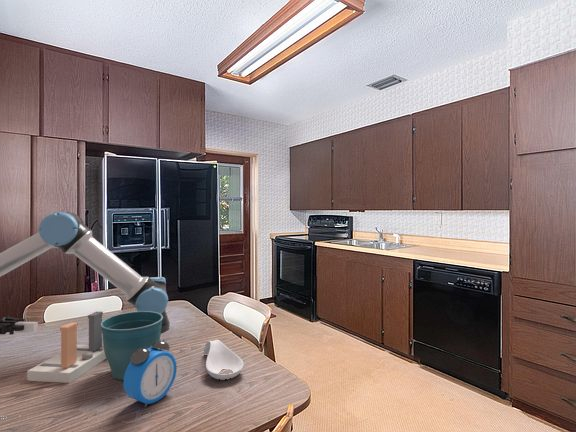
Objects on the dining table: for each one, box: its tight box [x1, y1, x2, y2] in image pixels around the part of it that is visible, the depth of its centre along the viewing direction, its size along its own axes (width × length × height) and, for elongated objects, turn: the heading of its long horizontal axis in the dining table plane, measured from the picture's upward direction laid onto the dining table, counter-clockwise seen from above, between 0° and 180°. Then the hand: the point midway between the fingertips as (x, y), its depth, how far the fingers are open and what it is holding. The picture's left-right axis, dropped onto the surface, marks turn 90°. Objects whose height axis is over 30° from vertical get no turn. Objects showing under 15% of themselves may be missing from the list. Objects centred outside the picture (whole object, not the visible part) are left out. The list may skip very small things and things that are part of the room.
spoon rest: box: [203, 339, 245, 381], centre depth 107 cm, size 24×12×7 cm, turn 30°
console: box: [26, 344, 107, 384], centre depth 108 cm, size 14×20×4 cm
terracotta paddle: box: [59, 322, 79, 368], centre depth 101 cm, size 2×4×12 cm, turn 175°
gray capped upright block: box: [87, 311, 104, 351], centre depth 113 cm, size 2×4×12 cm, turn 175°
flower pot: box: [101, 311, 163, 381], centre depth 104 cm, size 18×18×17 cm
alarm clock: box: [122, 339, 177, 408], centre depth 89 cm, size 13×6×15 cm, turn 152°
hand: (35, 326), depth 102 cm, fingers closed
